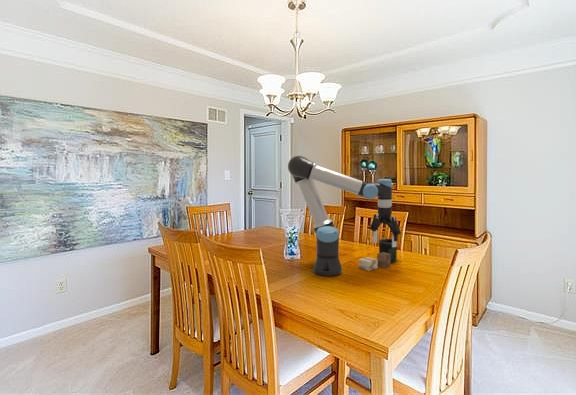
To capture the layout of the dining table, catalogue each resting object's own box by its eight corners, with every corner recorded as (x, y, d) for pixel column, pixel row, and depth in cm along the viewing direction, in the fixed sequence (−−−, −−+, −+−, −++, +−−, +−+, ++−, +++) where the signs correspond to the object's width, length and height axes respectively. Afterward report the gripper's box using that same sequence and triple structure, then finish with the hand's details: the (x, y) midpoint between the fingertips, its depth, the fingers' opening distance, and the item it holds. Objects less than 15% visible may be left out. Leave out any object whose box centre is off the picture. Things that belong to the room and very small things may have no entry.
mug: (375, 261, 190) (376, 241, 189) (382, 255, 203) (383, 236, 202) (394, 264, 185) (395, 243, 184) (400, 258, 197) (401, 238, 196)
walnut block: (383, 267, 178) (384, 255, 177) (377, 265, 182) (377, 253, 182) (390, 266, 181) (390, 254, 180) (383, 264, 185) (383, 252, 184)
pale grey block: (368, 271, 173) (368, 261, 173) (359, 267, 179) (359, 259, 178) (377, 268, 177) (377, 259, 177) (367, 265, 183) (367, 257, 182)
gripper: (408, 208, 170) (407, 247, 172) (372, 204, 191) (372, 239, 193) (398, 209, 166) (398, 250, 168) (363, 205, 187) (363, 241, 189)
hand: (384, 244), depth 180 cm, fingers open, 13 cm apart
